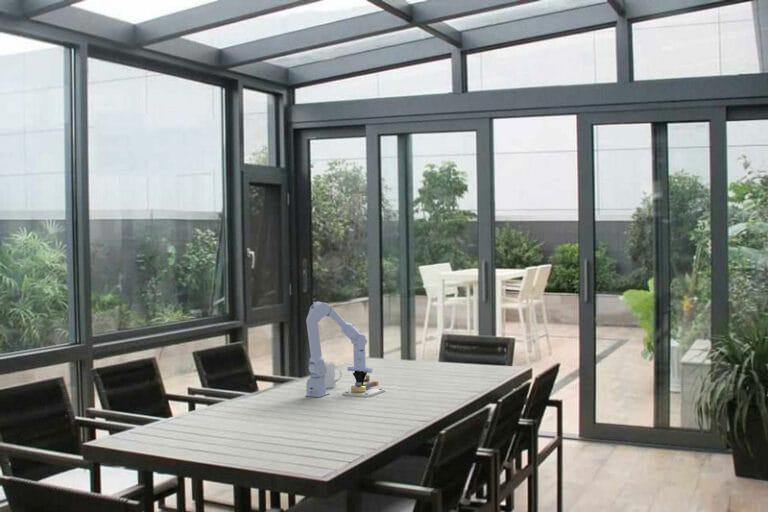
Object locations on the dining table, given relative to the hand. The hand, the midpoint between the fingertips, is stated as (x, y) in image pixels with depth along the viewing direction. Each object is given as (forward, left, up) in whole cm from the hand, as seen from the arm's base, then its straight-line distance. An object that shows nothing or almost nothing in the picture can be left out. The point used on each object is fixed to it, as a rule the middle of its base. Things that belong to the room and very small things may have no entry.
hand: (360, 386), depth 429 cm
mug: (+4, +20, -2) cm, 20 cm away
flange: (-6, -5, -2) cm, 8 cm away
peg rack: (+12, +5, -2) cm, 13 cm away
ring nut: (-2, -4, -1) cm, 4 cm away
